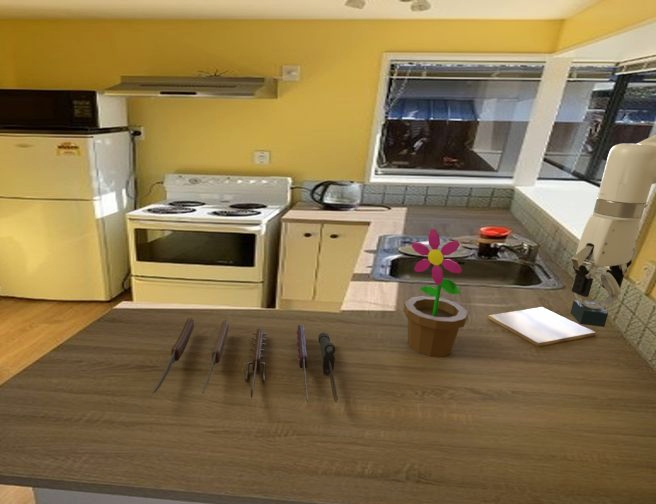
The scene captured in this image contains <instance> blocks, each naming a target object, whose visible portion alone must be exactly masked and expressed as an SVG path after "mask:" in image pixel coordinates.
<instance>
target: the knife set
mask: <svg viewBox="0 0 656 504" xmlns="http://www.w3.org/2000/svg"><path fill="white" fill-rule="evenodd" d="M186 319H187V320H186V321H185V323H184V325H183V328H182V330H181V332H180V334H179V336H178V337H177V340H176V342H175V343H174V345H173V346H172V348H171V350H170V353H171V354H170V355H171V356H170V359H169V361H168V362H167V365H166V367H165V369H164V371H163V373H162V375H161V376H160V378H159V380H158V382H157V384H156V386H155V387H154V389H153V391H152V394H151V395H153V394H155V393H156V392H157V391H159V389H160V388H161V386H162V384H163V383H164V382H165V379H166V378H167V375H169V372H170V369H171V368H172V366H173V364H175V362H178V361H180V358H181V357H182V355H183V354H184V352H185V349H186V348H187V345H188V343H189V340H190V338H191V335H192V333H193V331H194V329H195V328H194V327H195V326H194V325H195V324H194V322H195V321H194V318H189V317H188V318H186ZM305 329H306V328H305V325H303V324H298V325H297V329H296V339H297V340H296V343H297V357H298V359H297V361H298V367H299V368H300V369H302V371H303V382H304V383H303V384H304V391H305V392H304V393H305V400H306V402H309V396H308V384H307V372H306V369H307V367H308V362H309V360H308V351H307V341H306V330H305ZM228 333H229V321H228V320H222V321H221V323H220V327H219V331H218V333H217V334H218V335H217V338H216V342H215V344H214V346H213V349H212V351H211V364H210V368H209V371H208V373H207V377H206V380H205V382H204V386H203V389H202V391H201V393H202V394H204V393H205V391H206V389H207V386H208V383H209V380H210V378H211V376H212V375H211V374H212V371H213V368H214V365H216V364H219V363H220V361H221V358H222V356H223V352H224V349H225V345H226V340H227V337H228ZM253 335H254V336H255V337H251V339H252V340H255V341H254V342H250V345H254V348H250V349H249V350H250V351H253V354H252V355H248V357H249V358H252V360H250V361H247V363H246V370H245V371H246V372H245V377H244V378H245V379H244V382H248V381H249V375H250V365H252V367H251V369H252V371H253V379H252V386H251V389H250V398H251V399H253V397H254V392H255V391H254V390H255V385H256V384H255V383H256V378H257V377H256V376H257V375H256V374H257V372H260V370H261V366H262V372H261V373H262V374H261V382H262V384H263V383H265V380H266V367H267V366H266V363H265V362H263V361H262V359H264V358H266V356H264V355H262V353H263V352H267V349H263V346H267V345H268V344H267V343H265V342H264V341H267V340H268V339H267V338H264V336H268V334H266V333H265V332H264V329H263V328H257V329H256V332H255V333H253ZM330 339H331V338H330V335H329V334H328V333H327V332H321V333H320V334H319V335H318V344H319V345H320V352H321V359H322V372H323V375H328V376H329V379H330V380H329V381H330V386H331V393H332V398H333V402H334V403H335V404H338V403H339V397H338V393H337V387H336V382H335V381H336V380H335V377H334V368H335V361H336V360H335V353H336V350H337V349H336V345H335V344H334V343H333V342H331V340H330Z"/></svg>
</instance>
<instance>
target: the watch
mask: <svg viewBox="0 0 656 504" xmlns="http://www.w3.org/2000/svg"><path fill="white" fill-rule="evenodd" d="M595 275H600V282H601V284H603V286H604V287H605V288H604V289H605V291H606V292H607V297H606V298H605V299H604V300H601V301H599V302H596V301H587V300H584V298H583V296H581V295H579V294H576V293H574V292H572V293H573V295H574V297H575V299H573V301H572V305H571V308H570V309H571V310H570V314H571V315H572V317H573V318H574V319H575V320H576V321H577V323H578V324H579V325H585V326H592V327H602V328H605V325H606V323H607V320H608V316H609V312H608V311H606V310H605V308H607V307H609V306H611V305H613V304H614V303H616V301H617V300H618V299H619V295H622V292H621V288H619V285H618V283H617V282H616V280H615V278H614V277H613V276H612V275H611V274H610V273H609V272H607V273H606V271H603V270H602V269H597V270H596V271H595V272H594V274H593V275H592V276H595ZM573 283H574V281H573V282H572V284H571V287H573Z"/></svg>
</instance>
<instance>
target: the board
mask: <svg viewBox="0 0 656 504" xmlns="http://www.w3.org/2000/svg"><path fill="white" fill-rule="evenodd" d="M487 319H488V320H490V321H492V322H494V323H495V324H497V325H499V326H501V327H503V328H504V329H506V330H508V331H510V332H511V333H513V334H515V335H517V336H518V337H520V338H522V339H524V341H525V340H526V341H527V342H529V343H530V344H532V345H534V346H536V347H543V346H549V345H553V344H558V343H565V342H568V341H573V340H579V339H584V338H589V337H594V336H596V333H597V332H596V331H594V330H592V329H590V328H588V327H586V326H583V325H582V324H580V323H578V322H575V321H572V320H570V319H568V318H566V317H564V316H562V315H560V314H557V313H556V312H554V311H551V310H549V309H547V308H545V307H543V306H539V307H534V308H527V309H521V310H514V311H508V312H501V313H495V314H489V315H488V317H487Z"/></svg>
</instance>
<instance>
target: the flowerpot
mask: <svg viewBox="0 0 656 504" xmlns="http://www.w3.org/2000/svg"><path fill="white" fill-rule="evenodd" d="M427 238H428V246H429V247H430V249H431V250H430V249H429V247H428V246H427V245H426V244H424V243H422V242H419V241H417V242H416V241H413V242H412V243H411V247H412V249H413V250H414V252H416V253H417V254H418V255H421V256H427V258H423V259H421V260H419V261H418V262H416V264H415V266H414V268H413V270H414V272H415V273H423V272H424V271H426V270H428V269H430V267H431V265H433V266H432V269H431V276H432V277H431V278H432V280H433V281H434V283H435V285H436V288H435V287H433V286H429V285H427V286H421V287H420V290H421V291H422V292H424V293H425V294H426V295H417V296H412V297H409V298H407V299H406V301H405V302H404V303H403V313H404V315H405V317H406V318H407V343H408V345H409V347H410V348H411V350H413V351H415V352H416V353H418V354H420V355H421V354H422V355H424V356H428V357H435V358H436V357H437V358H441V357H443V358H444V357H446V356H449V355H450V354H451V353H452V351H453V348H454V345H455V342H456V339H457V336H458V333H459V330H460V329H461V328H464V327H465V325H466V324H467V321H468V315H469V312H468V311H467V309H466V308H465V307H464V306H463V305H461V304H459V303H457V302H455V301H454V300H453V301H452V300H450V299H446V298H442V297H441V289H443V290H444V291H445V292H446V293H448V294H451V295H459V294H460V292H461V291H460V290H459V289H460V288H459V287H458V286H457V284H456V282H454V281H453V280H451V279H450V278H444V271H443V268H444V269H445V270H447V271H449V272H450V273H452V274H461V273H462V271H463V269H462V267H461V266H460V265H459V262H456V261H455V260H453V259H451V258H445V257H444V256H450V255H452V254H453V253H455V252H456V251H457V250H458V249H459V247H460V244H461V243H460V242H459V241H458V240H452V241H451V240H450V241H449V242H446V244H444V245H442V247H441V249H440V250H439V248H440V247H439V246H440V245H441V241H440V239H441V238H440V234H439V233H438V232H437V230H436V229H435V228H432V229H430V231H429V233H428V236H427Z"/></svg>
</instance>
